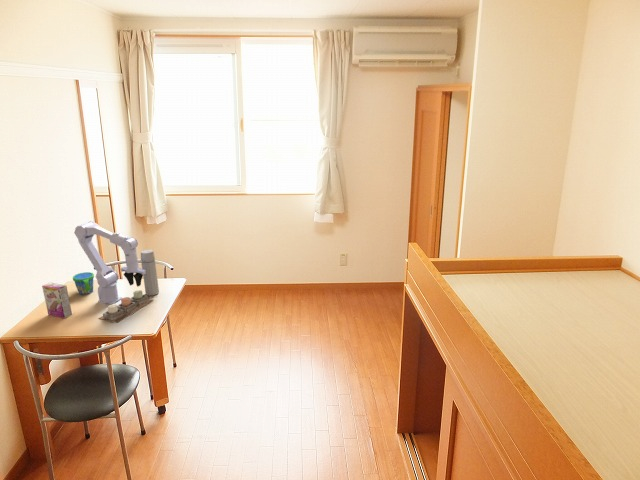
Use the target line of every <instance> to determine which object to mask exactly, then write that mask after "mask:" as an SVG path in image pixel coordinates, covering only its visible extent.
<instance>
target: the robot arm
mask: <svg viewBox="0 0 640 480" xmlns="http://www.w3.org/2000/svg"><path fill="white" fill-rule="evenodd" d="M74 235H75V236H76V239H77V240H78V241H77V242H78V244H79V245H80V247H81V249H82V250H83V251H84V253H85V255H86V256H87V258H88V261H90V262H91V264H92V266H93V268H94V269H95V271H96V273H95V274H96V275H95V278H96V281H97V284H98V287H97V294H98V300H97V301H98V303H104V304H109V305H113V304H116V302H118V301H121V299H122V298H123V297H121V296H119V293H118V288H117V287H118V286H117V283H118V280H119V274H118V273H117V272H116V271H115V270H114V269H113V268H112V267H110V266H107V264H106V262H105V261H104V259H103V258H102V255H101V254H100V253H99V251H98V249H97V248H96V246H95V245H94V244H93V242H92V241H93V237H94V236H96V235H97V236H99V237H101V238H102V237H103V238H105V239H108V240H109V242H110V243H111V244H114V245H116V246H118V247H120V248H121V250H122V251H123V253H124V258H125V264H126V265H125V266H123V267H120V272H122V273H123V272H124V273H123V276H124V277H125V279H126V280H127V282H128V284H129V286H133V285H134V284H136V287H138V288H139V287H141V284H142V279H143V275H144V274H146V270H143V269H142V267H141V268H140V267H139V259H138V258H139V257H138V252H137V247H138V245H139V242H138V240H137V239H136V238H135V237H133V236H132V237H128V236H125V235H123V234H121V233H120V232H111V231H109V230H107V229H105V228H103V227H101V226H99V224H98V223H96V222H94V221H92V220H91V221H88V222H86V223H83V224H81V225H80V224H79V225H77V226H76V227H75V229H74Z"/></svg>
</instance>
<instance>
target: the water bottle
mask: <svg viewBox="0 0 640 480" xmlns="http://www.w3.org/2000/svg"><path fill="white" fill-rule="evenodd" d="M139 262H141V269H143V270H146V274H144V275H143V277H142V279H143V284H144V292H145V294H146V295H147V296H155V295H158V294H159V292H160V287H159V281H158V273H157V266H156V265H157V264H156V257H155V251H154V250H153V249H144V250H141V251H140V260H139Z"/></svg>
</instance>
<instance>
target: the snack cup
mask: <svg viewBox="0 0 640 480" xmlns="http://www.w3.org/2000/svg"><path fill="white" fill-rule="evenodd" d="M94 277H95V274H94V273H93V272H89V271H88V272H79V273H77V274H75V275H73V276H72V281H74V284H75V287H76V290H77V293H78V294H79V295H88V294H90V293H93V292H94Z"/></svg>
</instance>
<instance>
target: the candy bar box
mask: <svg viewBox="0 0 640 480" xmlns="http://www.w3.org/2000/svg"><path fill="white" fill-rule="evenodd" d="M42 291H43V292H42V293H43V296H44V300H45V305H46V310H47V314H48V316H53V317H56V318H57V317H58V318H62V319H65V318H68V317H70V316H71V315H73V312H72V308H71V301H70V297H69V292H68V287H67V285H66V284H60V283H54V282H48V283H46V284H43V285H42Z"/></svg>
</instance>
